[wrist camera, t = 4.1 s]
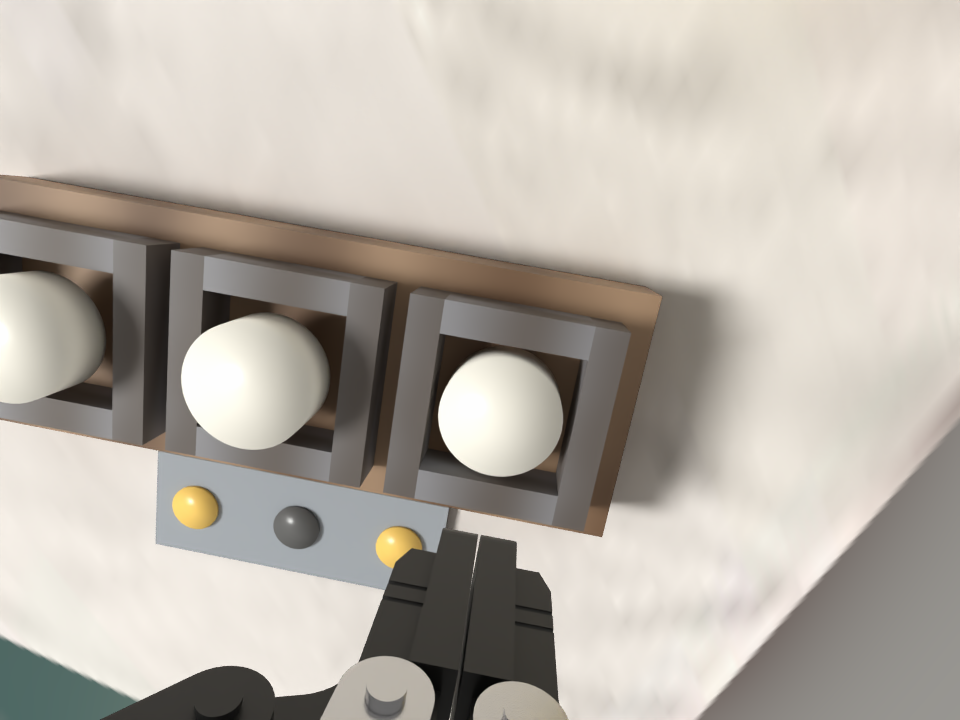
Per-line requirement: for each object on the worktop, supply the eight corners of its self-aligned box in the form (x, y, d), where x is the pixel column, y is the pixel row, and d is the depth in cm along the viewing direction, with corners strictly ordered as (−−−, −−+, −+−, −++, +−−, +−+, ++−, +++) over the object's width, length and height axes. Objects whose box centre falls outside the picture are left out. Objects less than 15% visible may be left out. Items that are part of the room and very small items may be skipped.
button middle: (210, 416, 22) (179, 436, 20) (216, 302, 20) (183, 311, 19) (324, 438, 21) (303, 460, 19) (336, 324, 20) (315, 335, 18)
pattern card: (160, 539, 29) (153, 545, 28) (163, 448, 28) (155, 452, 27) (434, 594, 28) (432, 602, 28) (449, 503, 27) (448, 510, 26)
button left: (-5, 375, 22) (-57, 391, 20) (-11, 260, 21) (-66, 265, 19) (106, 396, 22) (64, 414, 20) (106, 282, 21) (62, 288, 19)
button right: (438, 443, 23) (429, 464, 21) (455, 336, 22) (448, 347, 20) (548, 464, 23) (549, 486, 21) (570, 357, 22) (574, 371, 20)
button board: (33, 393, 27) (-74, 431, 23) (26, 176, 25) (-96, 167, 20) (593, 501, 26) (608, 566, 21) (646, 286, 24) (675, 304, 19)
